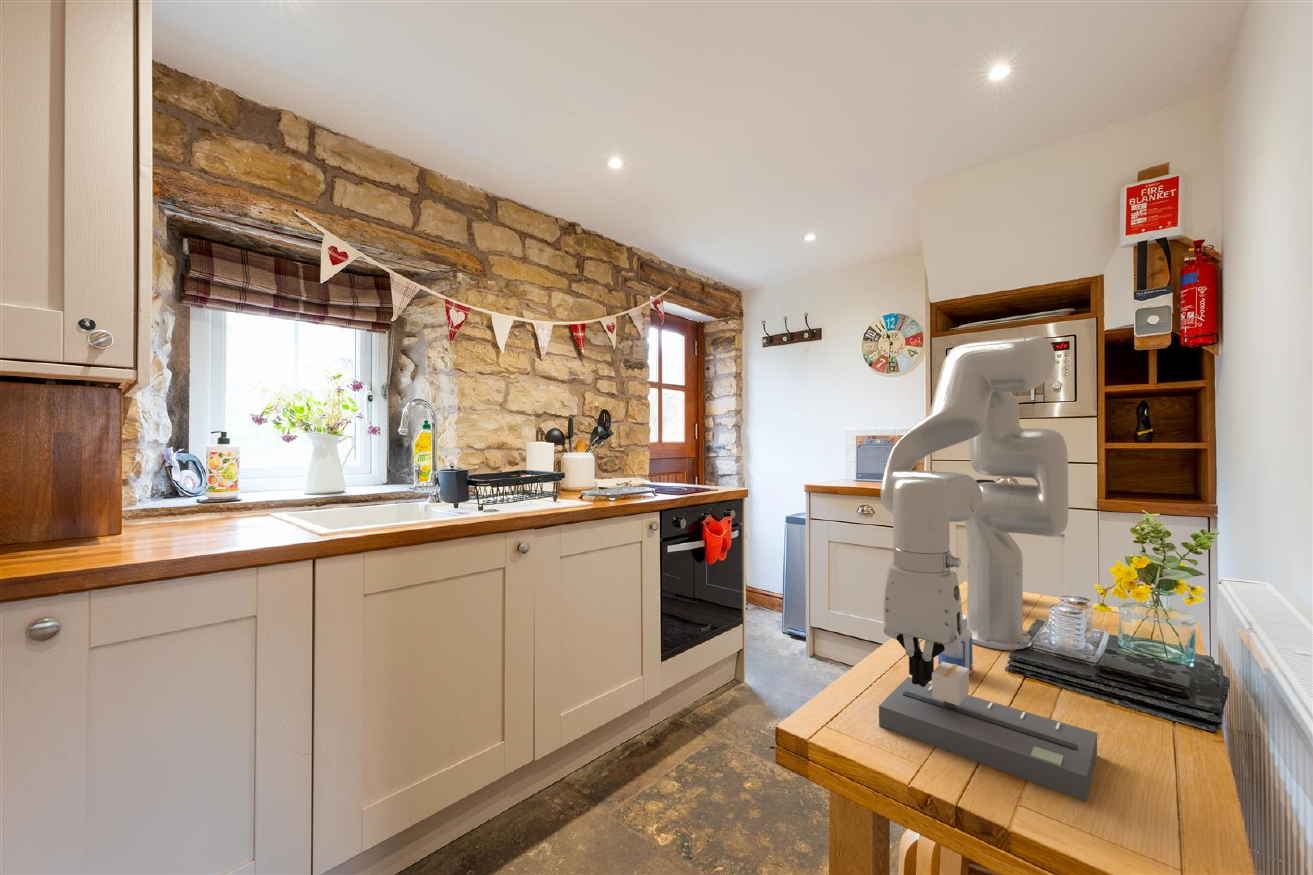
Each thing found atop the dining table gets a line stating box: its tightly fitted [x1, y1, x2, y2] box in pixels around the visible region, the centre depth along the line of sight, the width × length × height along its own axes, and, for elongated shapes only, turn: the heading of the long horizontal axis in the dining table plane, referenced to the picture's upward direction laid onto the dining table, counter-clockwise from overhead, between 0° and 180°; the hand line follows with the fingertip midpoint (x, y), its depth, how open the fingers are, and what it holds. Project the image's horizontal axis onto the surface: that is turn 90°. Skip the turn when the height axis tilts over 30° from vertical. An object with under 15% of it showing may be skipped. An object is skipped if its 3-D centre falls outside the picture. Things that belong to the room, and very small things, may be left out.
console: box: [878, 676, 1098, 803], centre depth 76 cm, size 12×24×3 cm, turn 47°
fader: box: [931, 662, 970, 709], centre depth 79 cm, size 5×4×5 cm
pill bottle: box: [937, 613, 974, 675], centre depth 98 cm, size 6×5×10 cm
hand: (921, 682), depth 82 cm, fingers closed
